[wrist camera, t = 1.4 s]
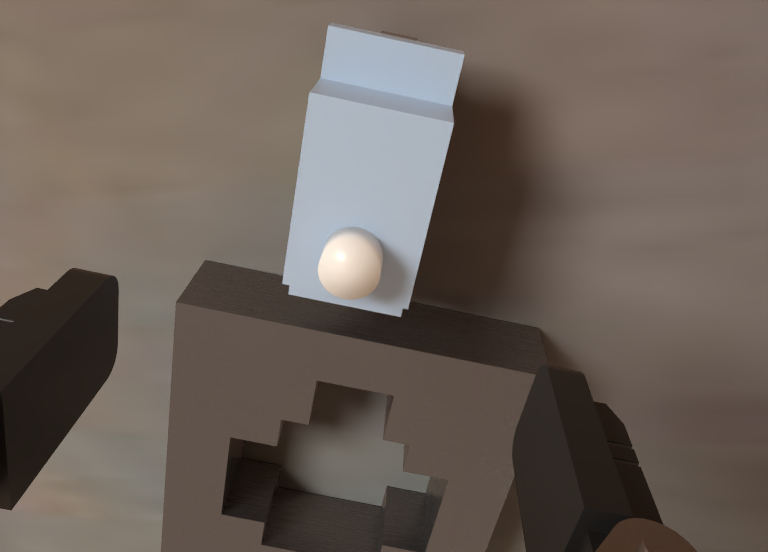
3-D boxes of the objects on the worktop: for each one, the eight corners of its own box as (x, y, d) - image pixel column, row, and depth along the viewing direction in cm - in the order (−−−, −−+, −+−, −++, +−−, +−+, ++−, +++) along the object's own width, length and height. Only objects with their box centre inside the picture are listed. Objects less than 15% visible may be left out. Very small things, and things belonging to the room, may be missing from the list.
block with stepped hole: (205, 260, 27) (176, 302, 24) (538, 328, 28) (552, 378, 25) (183, 532, 35) (158, 591, 32) (447, 582, 35) (449, 645, 32)
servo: (344, 10, 23) (310, 41, 16) (459, 35, 23) (470, 76, 16) (307, 246, 27) (268, 344, 20) (405, 266, 27) (396, 370, 21)
